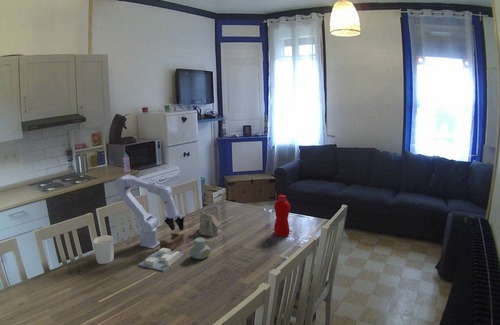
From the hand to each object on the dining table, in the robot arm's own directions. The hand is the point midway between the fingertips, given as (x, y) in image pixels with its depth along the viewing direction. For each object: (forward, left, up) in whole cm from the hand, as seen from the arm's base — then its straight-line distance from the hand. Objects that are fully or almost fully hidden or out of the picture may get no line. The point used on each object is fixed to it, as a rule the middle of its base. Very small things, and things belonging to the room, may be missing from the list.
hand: (177, 229), depth 191 cm
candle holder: (-28, -27, -11) cm, 40 cm away
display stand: (0, -16, -10) cm, 19 cm away
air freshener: (+17, -5, -11) cm, 21 cm away
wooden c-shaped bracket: (-5, 0, -11) cm, 11 cm away
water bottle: (+50, +39, -11) cm, 65 cm away
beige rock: (+7, +27, -11) cm, 30 cm away
